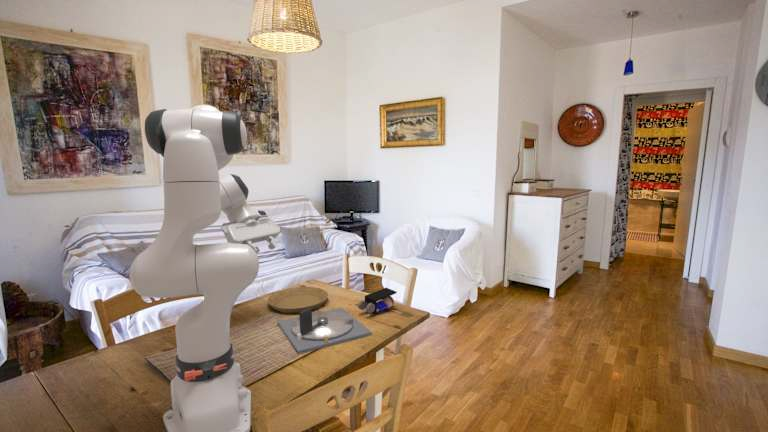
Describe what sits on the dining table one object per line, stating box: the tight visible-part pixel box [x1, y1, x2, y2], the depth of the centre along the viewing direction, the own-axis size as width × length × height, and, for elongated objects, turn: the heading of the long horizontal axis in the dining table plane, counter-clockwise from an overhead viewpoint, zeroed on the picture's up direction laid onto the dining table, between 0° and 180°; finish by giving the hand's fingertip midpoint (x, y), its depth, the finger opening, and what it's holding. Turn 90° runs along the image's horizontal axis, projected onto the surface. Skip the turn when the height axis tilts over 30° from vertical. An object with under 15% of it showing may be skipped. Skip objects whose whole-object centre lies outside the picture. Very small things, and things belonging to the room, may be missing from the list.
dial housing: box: [276, 307, 373, 355], centre depth 129 cm, size 25×25×3 cm
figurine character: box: [357, 287, 397, 317], centre depth 144 cm, size 7×8×15 cm
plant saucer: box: [267, 286, 329, 314], centre depth 153 cm, size 24×24×3 cm
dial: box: [291, 308, 353, 340], centre depth 128 cm, size 21×21×8 cm
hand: (265, 250), depth 129 cm, fingers open, 6 cm apart
